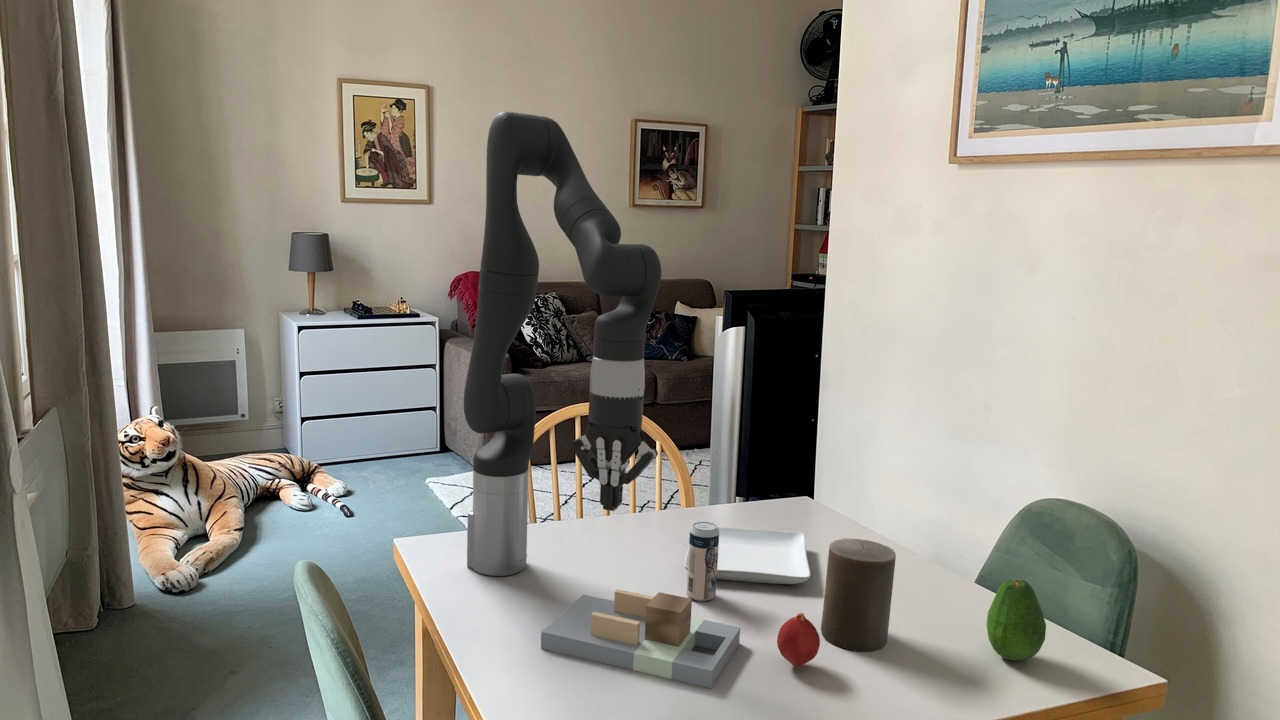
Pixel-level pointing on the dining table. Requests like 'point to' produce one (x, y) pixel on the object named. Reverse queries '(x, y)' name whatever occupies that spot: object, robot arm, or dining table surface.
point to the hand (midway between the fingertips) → (610, 508)
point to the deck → (639, 640)
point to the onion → (798, 640)
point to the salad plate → (761, 556)
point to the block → (668, 619)
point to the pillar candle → (858, 594)
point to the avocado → (1016, 621)
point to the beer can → (703, 561)
